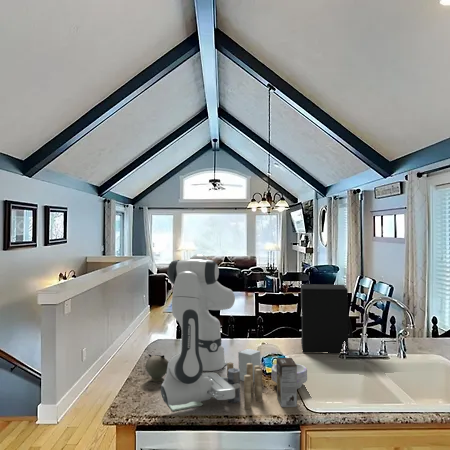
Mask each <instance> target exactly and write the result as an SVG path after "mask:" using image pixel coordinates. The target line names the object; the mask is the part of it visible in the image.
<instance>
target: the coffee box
mask: <svg viewBox="0 0 450 450" xmlns="http://www.w3.org/2000/svg"><path fill="white" fill-rule="evenodd" d="M275 360H276V364H277V383H276V398H277V400H278V403H279V404H280V405H279V406H280V407H281V408H293V407H295V408H297V407H298V389H297V365H296V364H297V363H296V362H295V361H294V359H293V358H292V357H276V359H275Z"/></svg>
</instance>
